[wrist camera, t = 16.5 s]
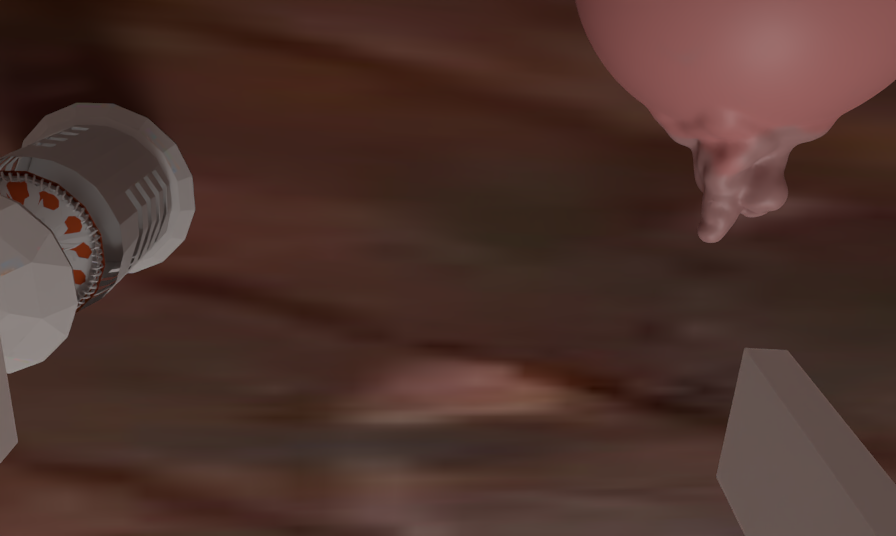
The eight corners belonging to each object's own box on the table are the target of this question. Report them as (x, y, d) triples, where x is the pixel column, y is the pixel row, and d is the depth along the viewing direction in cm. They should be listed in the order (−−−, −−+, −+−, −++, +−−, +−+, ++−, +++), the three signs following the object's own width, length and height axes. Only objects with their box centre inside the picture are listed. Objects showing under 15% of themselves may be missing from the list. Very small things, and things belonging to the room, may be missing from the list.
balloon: (508, 165, 45) (540, 262, 31) (585, -254, 38) (671, -382, 24) (779, 205, 46) (934, 318, 32) (902, -197, 39) (1172, -286, 25)
